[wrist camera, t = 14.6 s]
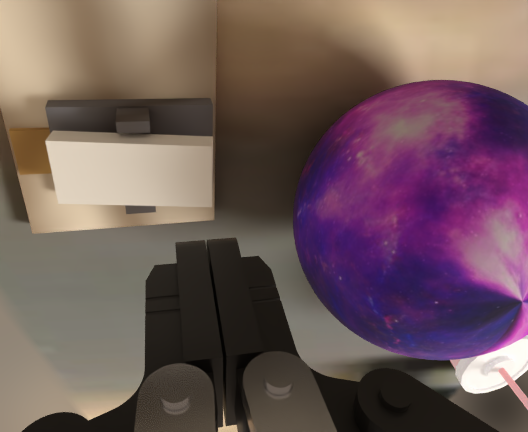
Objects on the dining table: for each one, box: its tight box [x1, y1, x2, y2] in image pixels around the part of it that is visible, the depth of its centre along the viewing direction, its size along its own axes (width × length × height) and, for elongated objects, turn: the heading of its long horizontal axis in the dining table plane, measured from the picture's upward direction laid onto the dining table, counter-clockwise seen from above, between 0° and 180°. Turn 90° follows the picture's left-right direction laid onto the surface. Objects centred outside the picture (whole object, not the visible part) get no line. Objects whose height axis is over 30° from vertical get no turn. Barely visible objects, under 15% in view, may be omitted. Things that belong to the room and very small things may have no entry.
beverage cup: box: [450, 335, 528, 409], centre depth 36 cm, size 6×6×14 cm
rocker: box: [45, 131, 213, 207], centre depth 24 cm, size 8×4×1 cm, turn 86°
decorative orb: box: [293, 80, 528, 360], centre depth 26 cm, size 15×15×15 cm
